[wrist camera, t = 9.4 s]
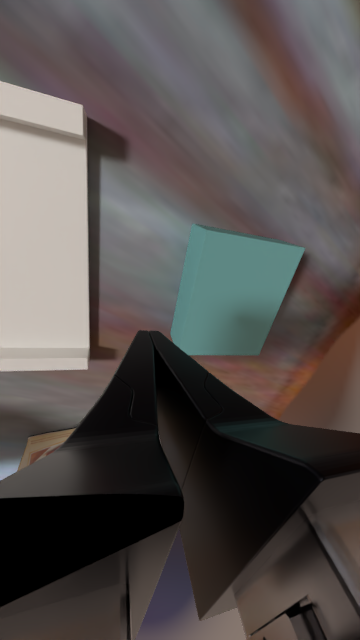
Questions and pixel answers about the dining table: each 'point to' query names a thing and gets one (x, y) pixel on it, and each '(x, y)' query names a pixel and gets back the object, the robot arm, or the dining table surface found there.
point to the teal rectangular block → (231, 291)
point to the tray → (43, 232)
